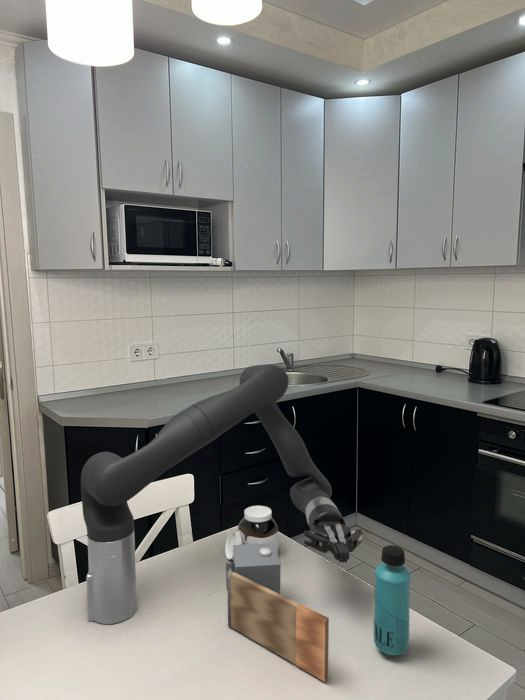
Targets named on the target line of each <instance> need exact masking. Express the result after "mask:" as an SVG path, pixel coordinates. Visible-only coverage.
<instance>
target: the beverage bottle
mask: <svg viewBox="0 0 525 700" xmlns="http://www.w3.org/2000/svg"><path fill="white" fill-rule="evenodd" d="M380 557H381V562H382V563H380V564H379V565H378V566H377V567H376V568H375V583H374V595H373V597H374V608H373V609H374V610H373V615H374V620H373V641H374V644H375V645H374V646H375V647H376V648H377V649H378V650H379V651H380V652H381V653H383V654H386V655H389V656H399V655H403V654H405V653H406V652H407V651H408V648H409V645H410V644H409V643H410V633H411V632H410V627H411V626H410V619H411V616H410V595H411V593H410V591H411V577H412V575H411V572H410V570H408V568H407V567H406V566H405V563H406V556H405V551H404V549H403V548H402V547H400V546H398V545H393V544H392V545H390V544H389V545H385V546H383V548H382V551H381V556H380Z"/></svg>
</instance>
